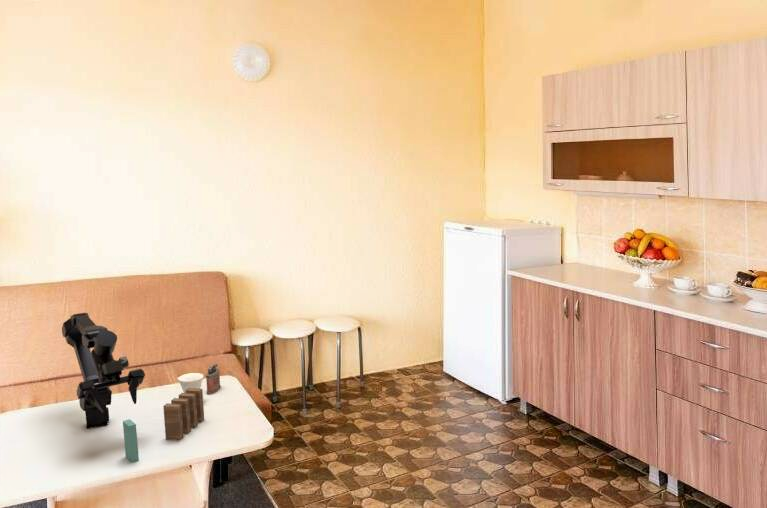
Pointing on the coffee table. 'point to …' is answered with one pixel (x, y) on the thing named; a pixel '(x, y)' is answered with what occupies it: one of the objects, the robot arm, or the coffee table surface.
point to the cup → (190, 381)
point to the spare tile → (130, 440)
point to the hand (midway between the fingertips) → (119, 407)
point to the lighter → (213, 379)
